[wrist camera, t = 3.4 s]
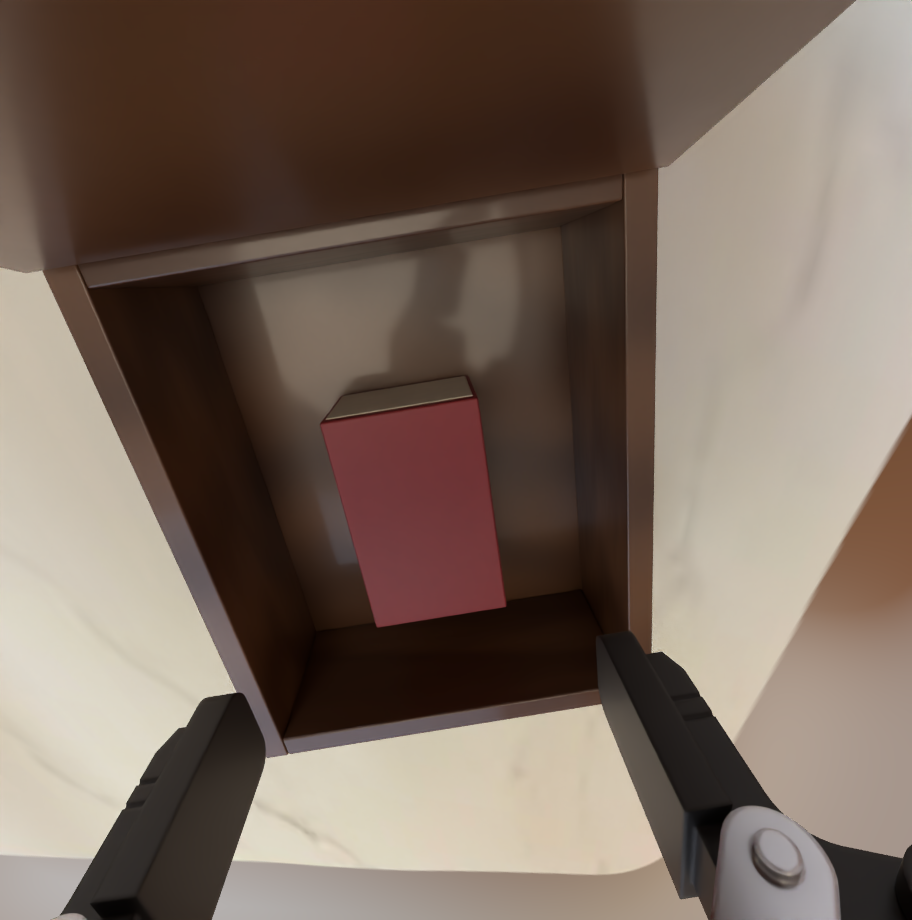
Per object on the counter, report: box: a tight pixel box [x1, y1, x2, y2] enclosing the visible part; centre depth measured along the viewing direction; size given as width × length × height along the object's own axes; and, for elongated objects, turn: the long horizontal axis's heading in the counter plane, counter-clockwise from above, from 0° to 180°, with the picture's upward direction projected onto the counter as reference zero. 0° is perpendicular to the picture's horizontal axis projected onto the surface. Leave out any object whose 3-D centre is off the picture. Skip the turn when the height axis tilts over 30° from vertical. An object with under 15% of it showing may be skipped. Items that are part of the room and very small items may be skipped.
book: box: [320, 375, 507, 627], centre depth 19 cm, size 9×6×4 cm, turn 9°
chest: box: [42, 168, 658, 758], centre depth 18 cm, size 19×16×7 cm
